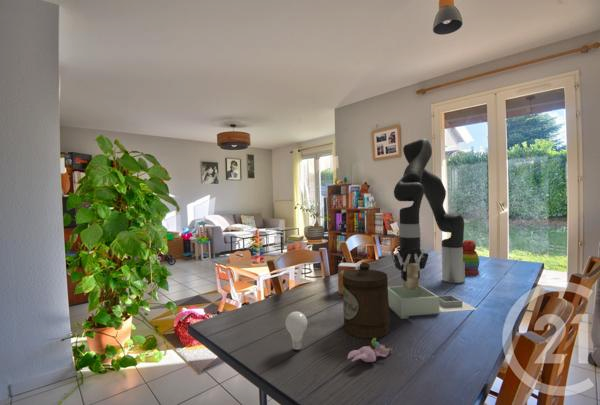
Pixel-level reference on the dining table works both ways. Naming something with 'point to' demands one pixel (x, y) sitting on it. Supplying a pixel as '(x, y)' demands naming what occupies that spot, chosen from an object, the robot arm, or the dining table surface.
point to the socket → (453, 304)
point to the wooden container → (366, 302)
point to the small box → (341, 269)
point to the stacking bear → (470, 258)
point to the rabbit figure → (370, 352)
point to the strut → (411, 276)
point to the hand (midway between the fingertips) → (410, 279)
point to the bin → (412, 301)
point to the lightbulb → (296, 328)
